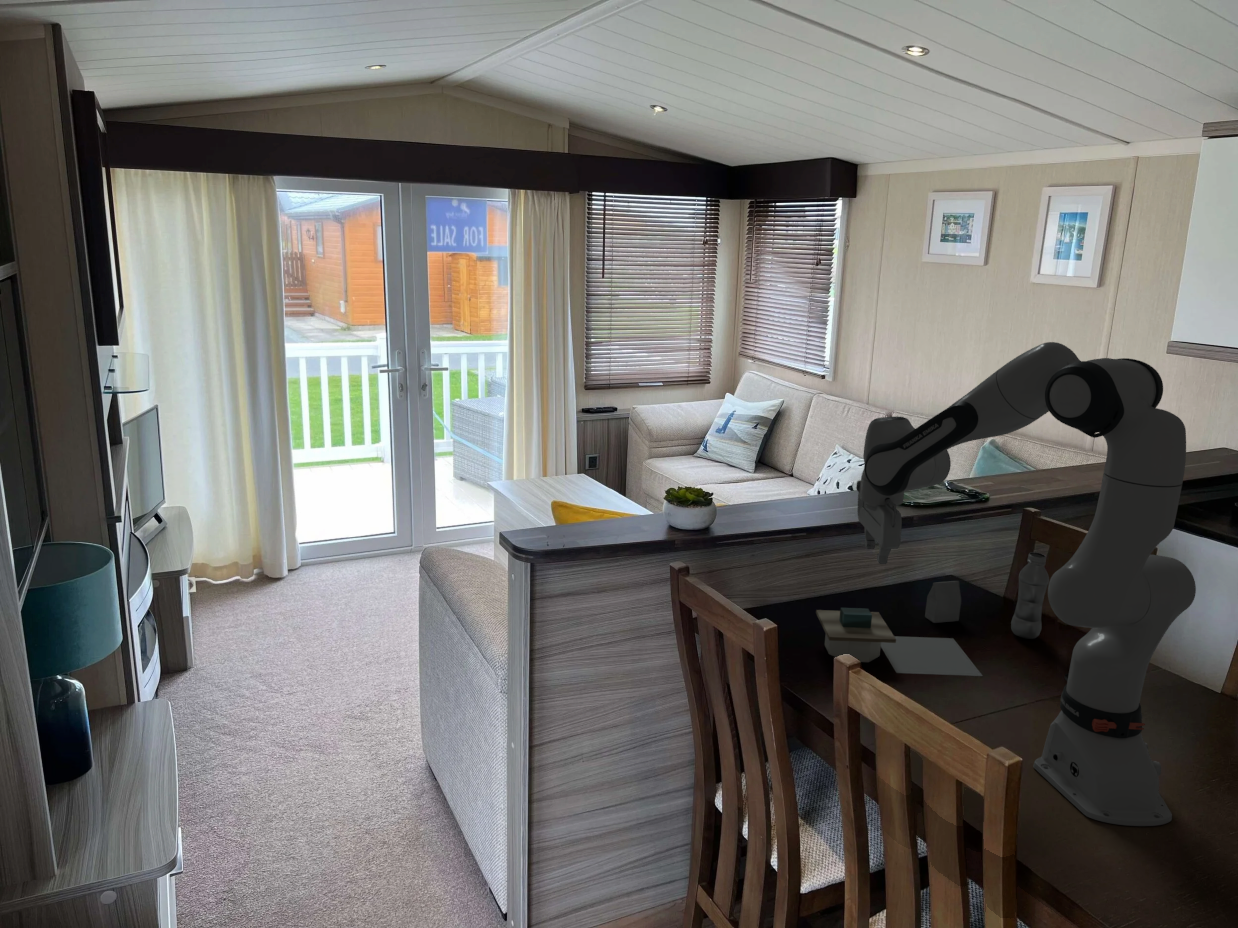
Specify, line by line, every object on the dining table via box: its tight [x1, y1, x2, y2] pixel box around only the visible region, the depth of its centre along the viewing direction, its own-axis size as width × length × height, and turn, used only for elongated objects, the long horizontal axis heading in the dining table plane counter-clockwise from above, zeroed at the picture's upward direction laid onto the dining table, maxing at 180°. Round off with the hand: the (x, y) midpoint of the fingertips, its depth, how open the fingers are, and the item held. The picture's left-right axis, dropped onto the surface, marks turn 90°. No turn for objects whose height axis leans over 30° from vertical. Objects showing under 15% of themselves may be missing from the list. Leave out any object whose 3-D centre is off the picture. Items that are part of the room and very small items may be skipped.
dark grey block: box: [924, 580, 962, 624], centre depth 217 cm, size 4×7×10 cm, turn 105°
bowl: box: [824, 634, 882, 663], centre depth 199 cm, size 11×11×6 cm
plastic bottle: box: [1010, 551, 1050, 640], centre depth 209 cm, size 6×7×20 cm
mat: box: [880, 635, 983, 677], centre depth 199 cm, size 18×18×1 cm
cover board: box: [815, 607, 896, 643], centre depth 198 cm, size 14×14×4 cm
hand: (875, 555), depth 193 cm, fingers open, 8 cm apart
